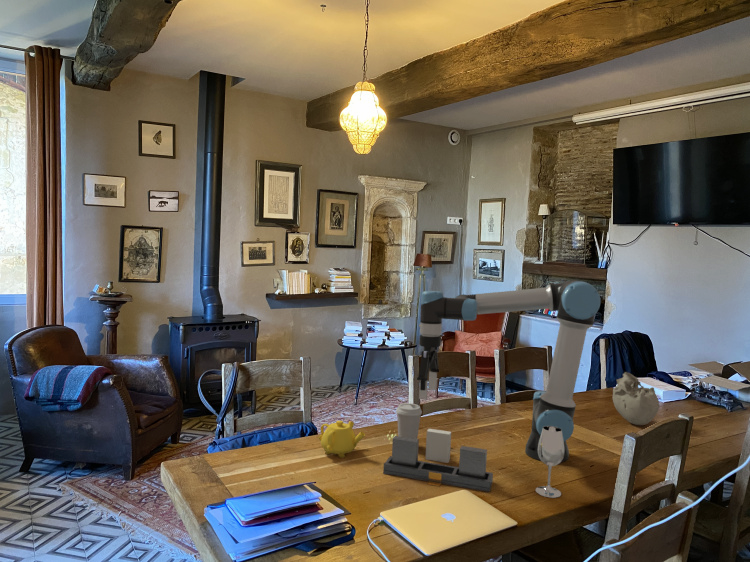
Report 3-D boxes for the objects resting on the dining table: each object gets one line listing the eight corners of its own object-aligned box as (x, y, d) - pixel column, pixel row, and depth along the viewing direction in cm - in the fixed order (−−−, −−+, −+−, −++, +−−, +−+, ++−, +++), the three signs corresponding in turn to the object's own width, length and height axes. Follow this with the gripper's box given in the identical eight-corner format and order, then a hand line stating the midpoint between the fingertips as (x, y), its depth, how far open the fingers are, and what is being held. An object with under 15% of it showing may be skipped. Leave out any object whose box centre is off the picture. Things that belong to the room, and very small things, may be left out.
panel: (449, 459, 194) (451, 431, 193) (448, 463, 191) (449, 434, 190) (427, 456, 196) (428, 428, 196) (425, 459, 193) (426, 431, 193)
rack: (492, 481, 177) (494, 447, 176) (488, 495, 167) (490, 459, 167) (390, 464, 187) (391, 432, 187) (381, 476, 178) (382, 442, 177)
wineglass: (531, 486, 174) (535, 424, 173) (555, 486, 175) (559, 424, 174) (540, 498, 167) (544, 432, 165) (565, 498, 167) (570, 433, 166)
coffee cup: (418, 452, 200) (420, 411, 199) (392, 449, 201) (394, 408, 200) (421, 443, 209) (423, 404, 208) (396, 440, 211) (398, 401, 210)
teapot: (365, 457, 192) (366, 426, 192) (326, 461, 188) (328, 429, 187) (352, 443, 206) (353, 413, 205) (316, 446, 201) (317, 416, 200)
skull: (664, 426, 242) (668, 376, 240) (648, 433, 232) (652, 381, 231) (621, 414, 257) (624, 367, 255) (604, 420, 247) (607, 371, 246)
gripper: (428, 329, 208) (426, 385, 210) (410, 339, 185) (407, 401, 186) (448, 331, 206) (445, 387, 207) (432, 341, 182) (429, 404, 184)
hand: (427, 394), depth 197 cm, fingers open, 13 cm apart
